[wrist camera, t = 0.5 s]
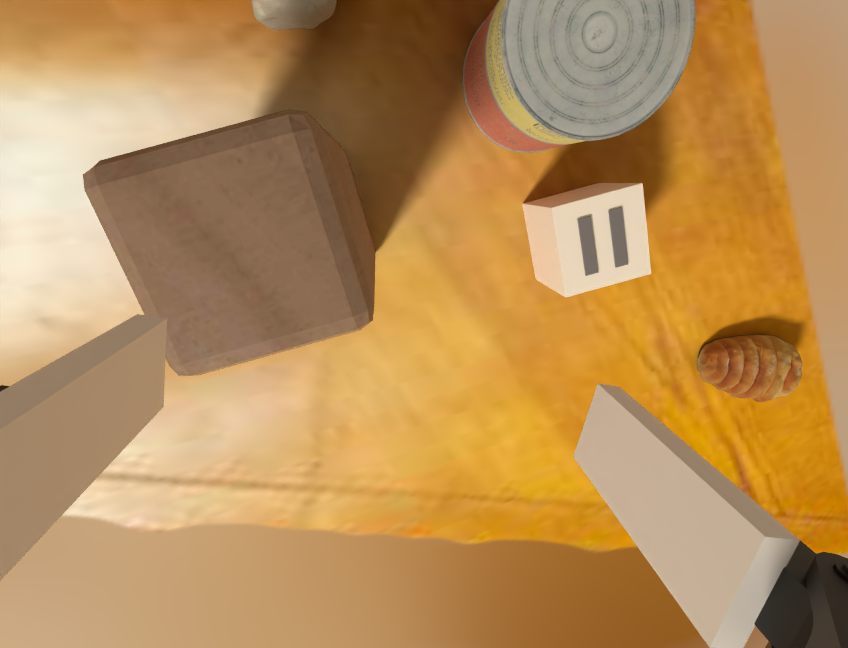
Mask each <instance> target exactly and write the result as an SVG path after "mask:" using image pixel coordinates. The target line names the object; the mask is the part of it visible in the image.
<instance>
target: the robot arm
mask: <svg viewBox="0 0 848 648" xmlns="http://www.w3.org/2000/svg"><path fill="white" fill-rule="evenodd" d="M166 331H167V319H165V318H158V317H152V316H145V315H138V314H137V315H136V316H134V317H132V318H130V319H128V320H127V321H125V322H123V323H121V324H120V325H118V326H116V327H114V328H113V329H111V330H109V331H107V332H105V333H104V334H102V335H100V336H98V337H97V338H95V339H93V340H91V341H89V342H88V343H86V344H84V345H82V346H81V347H79V348H77V349H75V350H73V351H72V352H70V353H68V354H66V355H65V356H63V357H61V358H59V359H57V360H56V361H54V362H52V363H50V364H49V365H47V366H45V367H43V368H42V369H40V370H38V371H36V372H34V373H33V374H31V375H29V376H27V377H26V378H24V379H22V380H20V381H18V382H17V383H15V384H13V385H11V386H3V385H2V386H0V581H1V579H2V578H3V577H4V576H5V575H6V574H7V573H8V572H9V571H10V570H11V569H12V568H13V566H15V565H16V563H17V562H18V561H19V560H20V559H21V558H22V557H23V556H24V555H25V554H26V553H27V552H28V550H30V548H31V547H32V546H33V545H34V544H35V543H36V542H37V541H38V540H39V539H40V538H41V537H42V536H43V535H44V534H45V533H46V531H47V530H48V529H49V528H50V527H51V526H52V525H53V524H54V523H55V522H56V521H57V520H58V518H60V517H61V515H62V514H63V513H64V512H65V511H66V510H67V509H68V508H69V507H70V506H71V505H72V504H73V503H74V502H75V500H76V499H77V498H78V497H79V496H80V495H81V494H82V493H83V492H84V491H85V490H86V489H87V488H88V487H89V486H90V484H91V483H92V482H93V481H94V480H95V479H96V478H97V477H98V476H99V475H100V474H101V473H102V472H103V471H104V470H105V468H106V467H107V466H108V465H109V464H110V463H111V462H112V461H113V460H114V459H115V458H116V457H117V456H118V455H119V454H120V452H121V451H122V450H123V449H124V448H125V447H126V446H127V445H128V444H129V443H130V442H131V441H132V440H133V439H134V438H135V436H136V435H137V434H138V433H139V432H140V431H141V430H142V429H143V428H144V427H145V426H146V425H147V424H148V423H149V422H150V420H151V419H152V418H153V417H154V416H155V415H156V414H157V413H158V412H159V411H160V410H161V409H162V408H163V402H164V379H165V355H166ZM574 458H575V460H576V461H577V463H578V464H579V465H580V467H581V468H582V470H583V471H584V472H585V474H586V475H587V477H588V478H589V479H590V481H591V482H592V484H593V485H594V486H595V488H596V489H597V491H598V492H599V493H600V495H601V496H602V498H603V499H604V500H605V502H606V503H607V505H608V506H609V507H610V509H611V510H612V512H613V513H614V514H615V516H616V517H617V519H618V520H619V521H620V523H621V524H622V526H623V527H624V528H625V530H626V531H627V533H628V534H629V535H630V537H631V538H632V540H633V541H634V542H635V544H636V545H637V547H638V548H639V549H640V551H641V552H642V554H643V555H644V556H645V558H646V559H647V560H648V562H649V563H650V565H651V566H652V568H653V569H654V570H655V572H656V573H657V574H658V576H659V577H660V579H661V580H662V581H663V583H664V584H665V586H666V587H667V588H668V590H669V591H670V593H671V594H672V595H673V597H674V598H675V600H676V601H677V602H678V604H679V605H680V607H681V608H682V609H683V611H684V612H685V614H686V615H687V616H688V618H689V619H690V621H691V622H692V623H693V625H694V626H695V628H696V629H697V630H698V632H699V633H700V634H701V636H702V637H703V639H704V640H705V642H706V643H707V644H708V646H709V647H710V648H744V645H745V644H746V642H747V640H748V638H749V636H750V634H751V632H752V630H753V629H754V627H755V625H756V627H757V628H758V629H759V630H760V631H761V632H762V634H763V635H764V636H765V637H766V638H767V639H768V641H769V642H768V644H767V646H766V648H848V559H847V558H844V557H842V556H839V555H837V554H832V553H827V552H822V553H818V554H816V553H814V552H813V551H812V550H811V549H810V548H809V547H807V546H806V545H805V544H804V543H803V542H801V541H800V540H799V539H798V538H797V537H796V536H795V535H793V534H792V533H791V532H790V531H789V530H788V529H786V528H785V527H784V526H783V525H782V524H780V523H779V522H778V521H777V520H776V519H775V518H773V517H772V516H771V515H770V514H769V513H768V512H766V511H765V510H764V509H763V508H762V507H760V506H759V505H758V504H757V503H756V502H755V501H753V500H752V499H751V498H750V497H749V496H747V495H746V494H745V493H744V492H743V491H742V490H740V489H739V488H738V487H737V486H736V485H734V484H733V483H732V482H731V481H730V480H729V479H727V478H726V477H725V476H724V475H723V474H721V473H720V472H719V471H718V470H717V469H716V468H714V467H713V466H712V465H711V464H710V463H709V462H707V461H706V460H705V459H704V458H703V457H701V456H700V455H699V454H698V453H697V452H696V451H694V450H693V449H692V448H691V447H690V446H688V445H687V444H686V443H685V442H684V441H683V440H681V439H680V438H679V437H678V436H677V435H675V434H674V433H673V432H672V431H671V430H670V429H668V428H667V427H666V426H665V425H664V424H663V423H661V422H660V421H659V420H658V419H657V418H655V417H654V416H653V415H652V414H651V413H650V412H648V411H647V410H646V409H645V408H644V407H642V406H641V405H640V404H639V403H638V402H637V401H635V400H634V399H633V398H632V397H631V396H629V395H628V394H627V393H626V392H625V391H624V390H622V389H621V388H620V387H616V386H609V385H603V384H598V385H597V388H596V391H595V394H594V397H593V400H592V403H591V406H590V409H589V412H588V415H587V418H586V421H585V424H584V427H583V430H582V433H581V436H580V439H579V442H578V445H577V448H576V451H575V454H574Z"/></svg>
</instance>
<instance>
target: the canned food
mask: <svg viewBox="0 0 848 648" xmlns="http://www.w3.org/2000/svg"><path fill="white" fill-rule="evenodd" d="M694 30H695V0H499V1H498V2H497V4H496V5H495V7H494V8H493V9H492V11H491V12H490V14H489V15H488V17H487V18H486V19H485V20H484V22H483V23H482V24H481V25H480V27H479V28H478V30H477V31H476V33H475V34H474V36H473V38H472V40H471V42H470V45H469V47H468V50H467V53H466V56H465V61H464V66H463V92H464V97H465V101H466V105H467V108H468V110H469V113H470V115H471V117H472V119H473V121H474V122H475V124H476V125H477V127H478V128H479V129H480V130H481V132H482V133H483V134H484V135H485V136H486V137H487V138H488V139H490V140H491V141H492V142H494V143H495V144H497V145H499V146H501V147H503V148H505V149H508V150H511V151H515V152H522V153H531V152H539V151H543V150H546V149H549V148H553V147H558V146H563V145H568V144H573V143H578V142H583V141H593V140H602V139H607V138H611V137H615V136H618V135H620V134H623V133H625V132H628V131H629V130H631V129H633V128H635V127H637V126H638V125H640V124H641V123H643V122H644V121H645V120H646V119H648V118H649V117H650V116H651V115H652V114H654V113H655V112H656V111H657V110H658V109H659V108H660V106H661V105H662V104H663V103H664V102H665V101H666V99H667V98H668V97H669V95H670V94H671V93H672V91H673V89H674V88H675V86H676V85H677V83H678V81H679V79H680V77H681V75H682V73H683V71H684V68H685V66H686V64H687V61H688V58H689V55H690V51H691V47H692V43H693V37H694Z"/></svg>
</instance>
